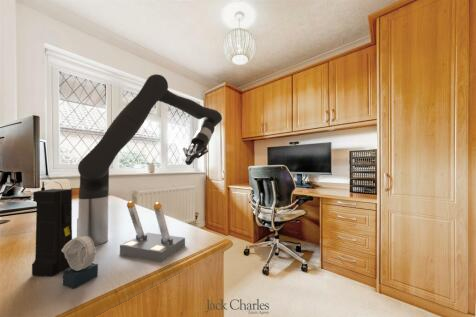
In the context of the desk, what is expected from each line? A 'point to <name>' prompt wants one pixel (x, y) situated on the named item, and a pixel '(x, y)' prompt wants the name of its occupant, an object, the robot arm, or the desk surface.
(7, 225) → the desk surface
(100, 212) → the robot arm
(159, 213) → the lever
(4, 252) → the desk surface
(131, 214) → the lever
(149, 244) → the switch console
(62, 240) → the portable radio
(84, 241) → the stone sculpture on base
